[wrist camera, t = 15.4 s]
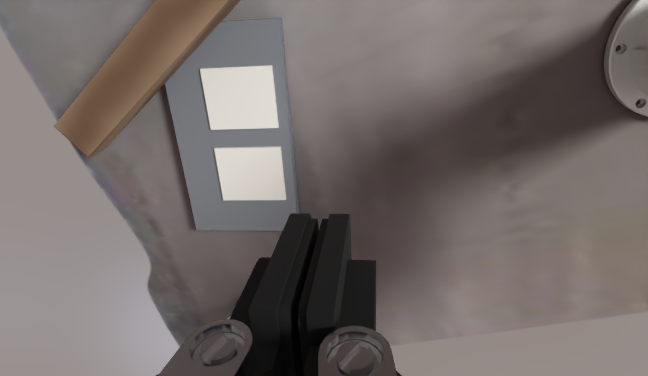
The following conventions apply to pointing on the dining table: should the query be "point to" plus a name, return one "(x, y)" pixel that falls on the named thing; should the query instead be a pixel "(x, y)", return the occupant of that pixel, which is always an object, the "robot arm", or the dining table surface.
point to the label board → (236, 128)
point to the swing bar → (139, 69)
